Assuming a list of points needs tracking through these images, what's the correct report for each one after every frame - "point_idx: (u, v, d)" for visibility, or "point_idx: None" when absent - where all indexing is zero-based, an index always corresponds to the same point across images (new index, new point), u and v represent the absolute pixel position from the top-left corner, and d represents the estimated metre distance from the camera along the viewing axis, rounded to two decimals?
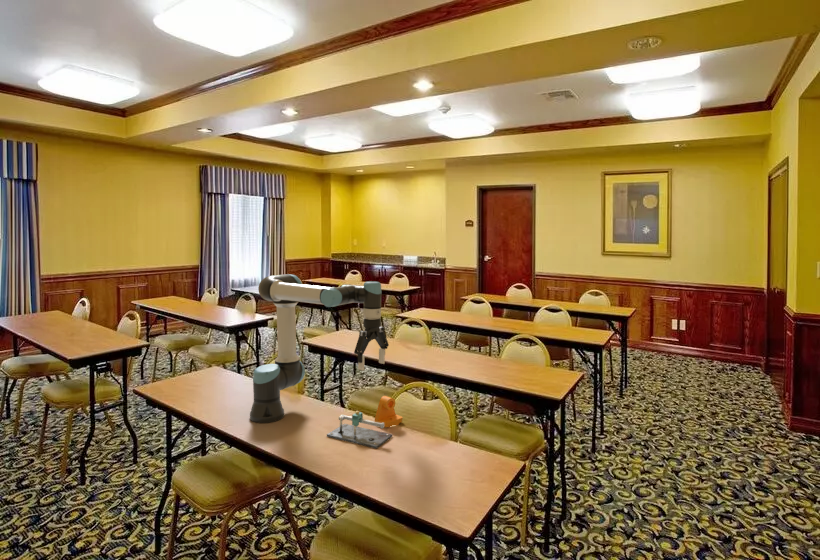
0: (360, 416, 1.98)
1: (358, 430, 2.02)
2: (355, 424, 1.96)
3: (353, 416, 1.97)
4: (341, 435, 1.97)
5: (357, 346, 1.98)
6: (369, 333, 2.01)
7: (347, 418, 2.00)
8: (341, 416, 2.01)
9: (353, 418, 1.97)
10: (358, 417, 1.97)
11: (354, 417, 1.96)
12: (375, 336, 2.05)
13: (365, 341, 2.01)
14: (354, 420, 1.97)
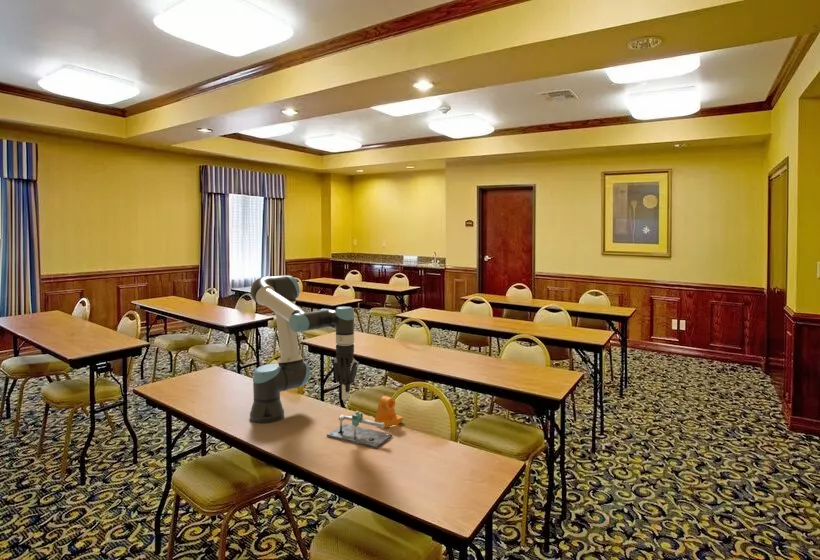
0: (360, 416, 1.98)
1: (358, 430, 2.02)
2: (355, 424, 1.96)
3: (353, 416, 1.97)
4: (341, 435, 1.97)
5: None
6: (338, 357, 1.99)
7: (347, 418, 2.00)
8: (341, 416, 2.01)
9: (353, 418, 1.97)
10: (358, 417, 1.97)
11: (354, 417, 1.96)
12: None
13: None
14: (354, 420, 1.97)
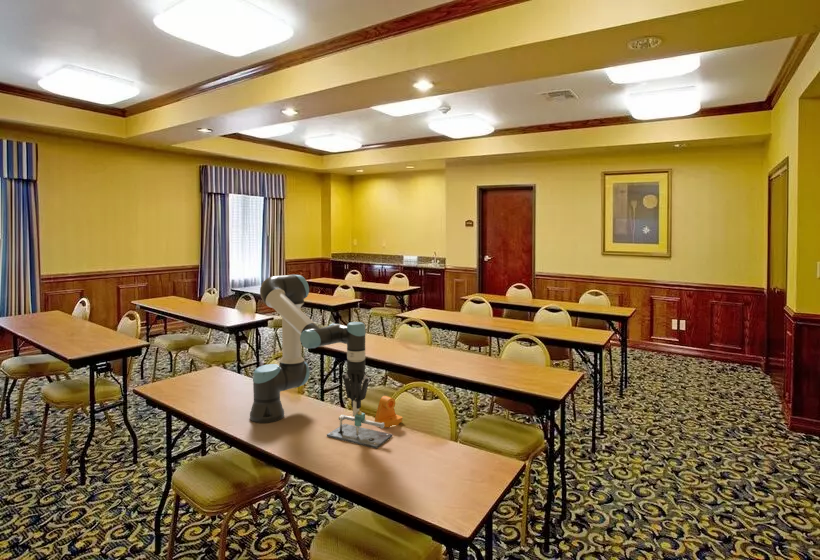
0: (362, 417, 1.98)
1: None
2: (357, 425, 1.96)
3: (355, 417, 1.96)
4: (341, 435, 1.97)
5: None
6: (349, 373, 1.97)
7: (347, 418, 2.00)
8: (341, 416, 2.01)
9: (355, 419, 1.96)
10: (360, 418, 1.96)
11: (356, 417, 1.96)
12: None
13: None
14: (356, 421, 1.96)
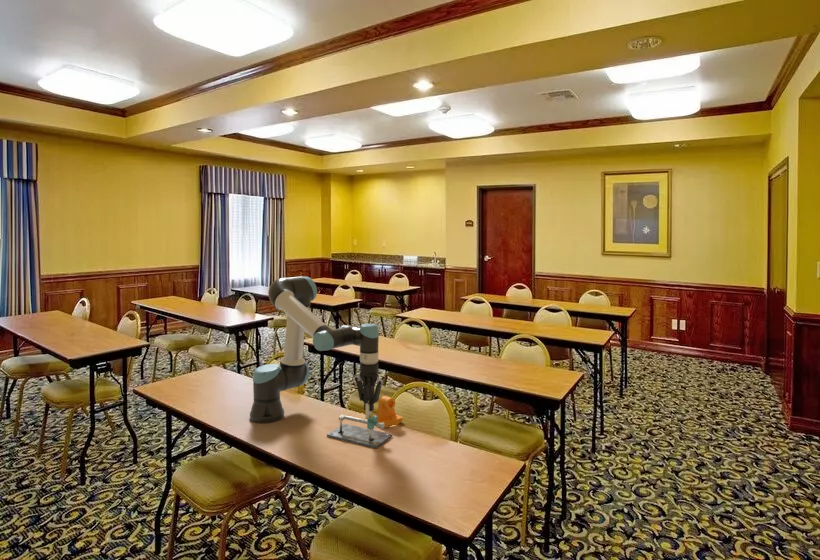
0: (375, 419, 1.95)
1: (358, 430, 2.02)
2: (370, 427, 1.93)
3: (368, 419, 1.93)
4: (341, 435, 1.97)
5: None
6: (361, 376, 1.95)
7: (347, 418, 2.00)
8: (341, 416, 2.01)
9: (368, 421, 1.93)
10: (373, 420, 1.93)
11: (369, 420, 1.93)
12: None
13: None
14: (369, 423, 1.93)
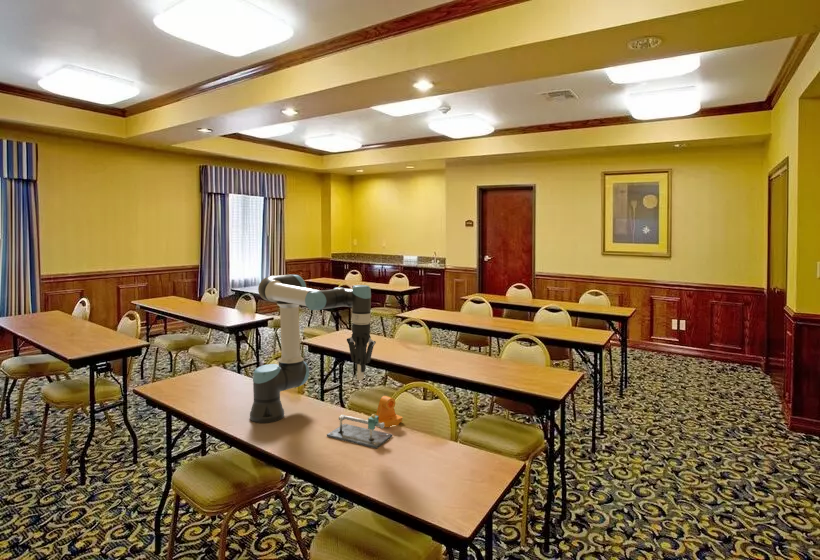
0: (376, 419, 1.95)
1: (358, 430, 2.02)
2: (371, 428, 1.93)
3: (369, 419, 1.93)
4: (341, 435, 1.97)
5: None
6: (353, 337, 1.96)
7: (347, 418, 2.00)
8: (341, 416, 2.01)
9: (369, 421, 1.93)
10: (374, 420, 1.93)
11: (370, 420, 1.93)
12: None
13: None
14: (370, 424, 1.93)
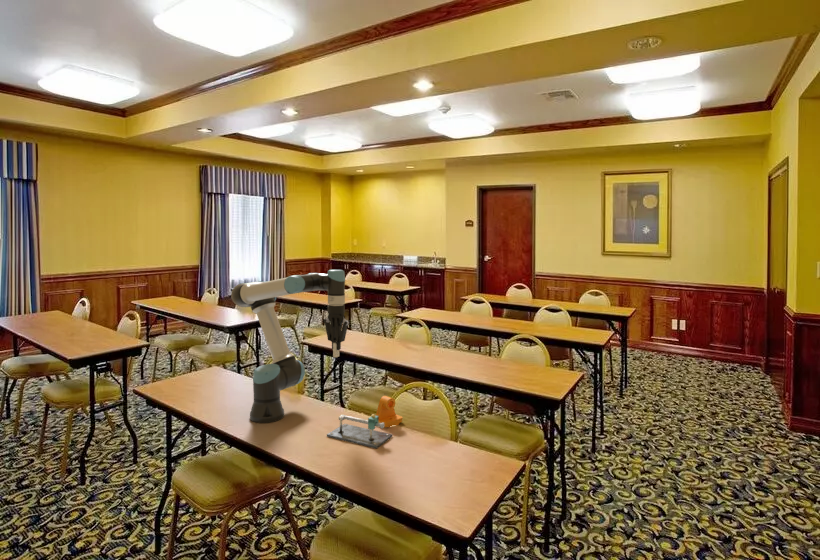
0: (376, 419, 1.95)
1: (358, 430, 2.02)
2: (371, 428, 1.93)
3: (369, 419, 1.93)
4: (341, 435, 1.97)
5: None
6: (329, 317, 2.12)
7: (347, 418, 2.00)
8: (341, 416, 2.01)
9: (369, 421, 1.93)
10: (374, 420, 1.93)
11: (370, 420, 1.93)
12: None
13: None
14: (370, 424, 1.93)
